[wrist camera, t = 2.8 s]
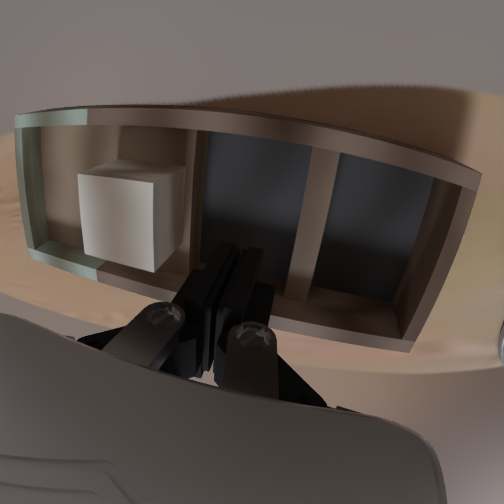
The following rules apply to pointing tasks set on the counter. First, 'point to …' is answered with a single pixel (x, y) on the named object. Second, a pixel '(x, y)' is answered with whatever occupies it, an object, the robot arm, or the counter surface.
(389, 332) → the box
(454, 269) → the counter surface
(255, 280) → the robot arm
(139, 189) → the block
